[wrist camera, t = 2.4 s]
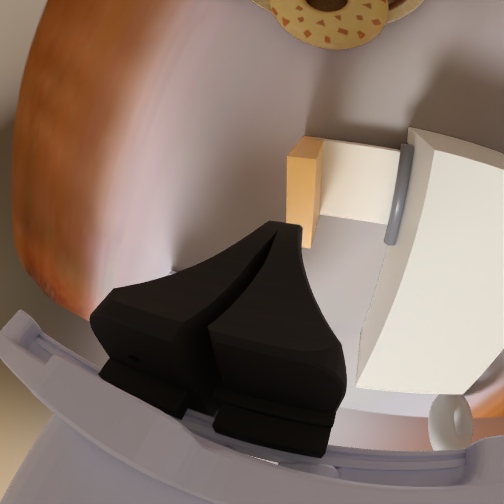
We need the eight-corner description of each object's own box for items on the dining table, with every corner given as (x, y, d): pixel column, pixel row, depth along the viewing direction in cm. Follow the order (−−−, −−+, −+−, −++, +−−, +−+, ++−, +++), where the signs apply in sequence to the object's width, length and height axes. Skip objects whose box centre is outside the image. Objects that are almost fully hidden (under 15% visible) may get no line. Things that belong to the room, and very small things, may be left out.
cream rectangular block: (352, 332, 25) (345, 385, 21) (396, 124, 14) (417, 146, 10) (456, 344, 22) (462, 394, 17) (534, 166, 11) (579, 203, 7)
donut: (422, 386, 27) (420, 460, 20) (445, 375, 25) (447, 452, 17) (455, 405, 28) (455, 467, 20) (474, 396, 26) (477, 459, 18)
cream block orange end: (300, 206, 20) (285, 244, 16) (302, 136, 17) (286, 156, 13) (486, 238, 15) (510, 280, 12) (505, 176, 13) (539, 209, 9)
